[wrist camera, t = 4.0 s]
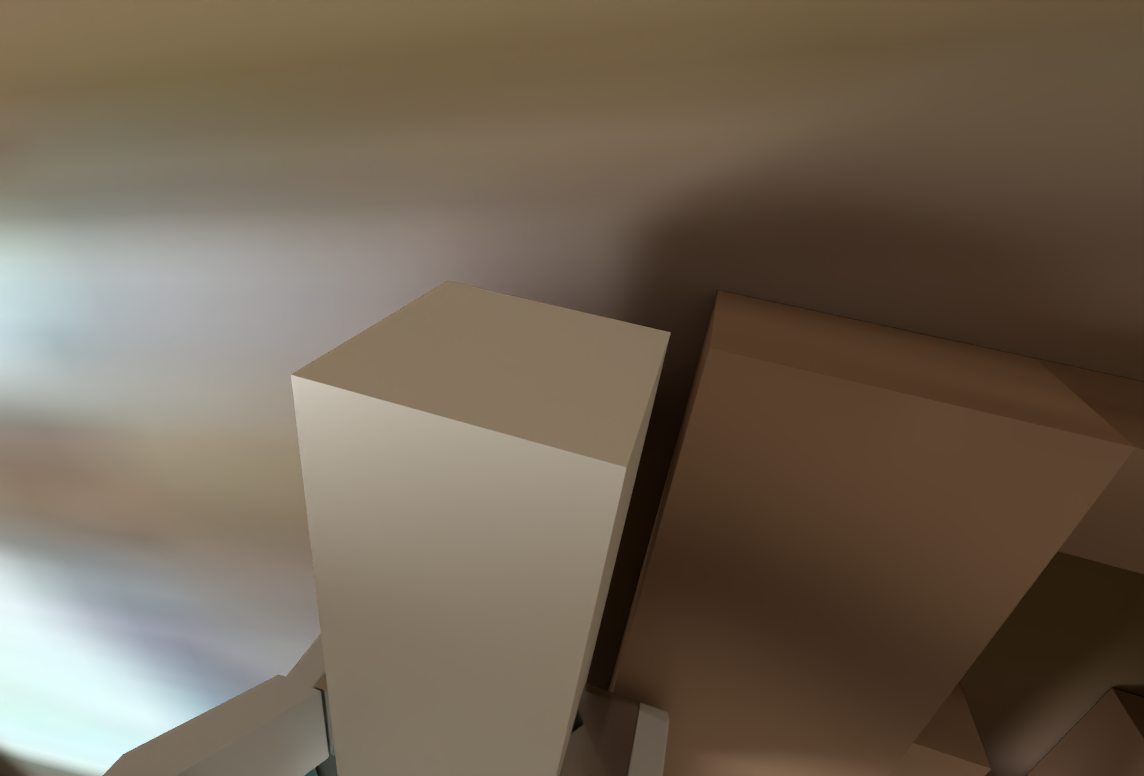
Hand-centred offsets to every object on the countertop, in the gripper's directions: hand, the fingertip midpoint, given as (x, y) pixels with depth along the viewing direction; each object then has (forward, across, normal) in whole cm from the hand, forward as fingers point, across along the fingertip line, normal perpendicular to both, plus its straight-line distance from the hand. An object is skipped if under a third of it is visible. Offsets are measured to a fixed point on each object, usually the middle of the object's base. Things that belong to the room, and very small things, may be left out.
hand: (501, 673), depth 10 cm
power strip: (+3, 0, 0) cm, 3 cm away
